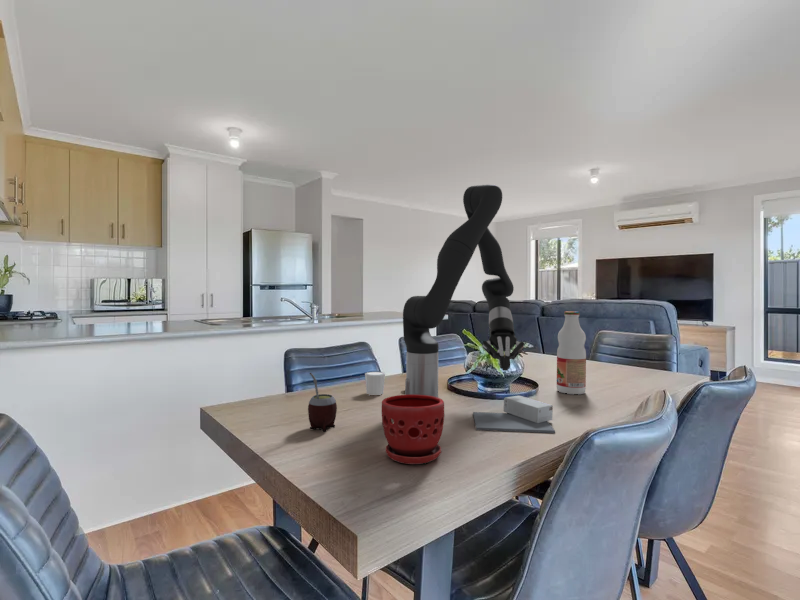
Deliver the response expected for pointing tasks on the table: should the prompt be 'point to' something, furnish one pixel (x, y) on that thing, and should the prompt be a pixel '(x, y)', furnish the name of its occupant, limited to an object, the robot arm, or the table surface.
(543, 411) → the skincare box
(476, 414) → the slate mat
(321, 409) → the mate gourd
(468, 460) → the table surface
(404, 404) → the plant pot
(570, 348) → the fruit juice
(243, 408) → the table surface
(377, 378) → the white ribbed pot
